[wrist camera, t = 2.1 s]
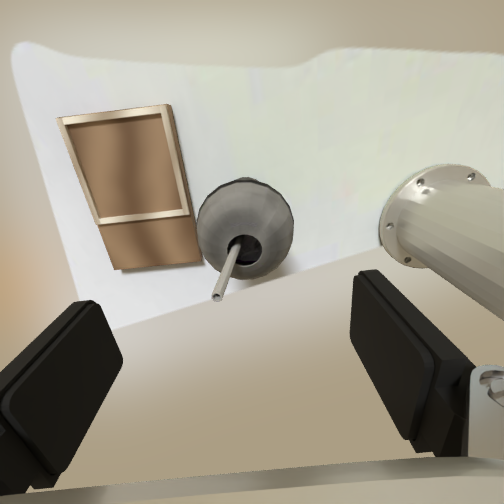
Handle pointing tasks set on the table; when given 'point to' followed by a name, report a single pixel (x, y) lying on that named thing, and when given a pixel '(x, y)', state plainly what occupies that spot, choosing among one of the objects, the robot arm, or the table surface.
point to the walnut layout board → (134, 184)
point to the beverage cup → (244, 231)
